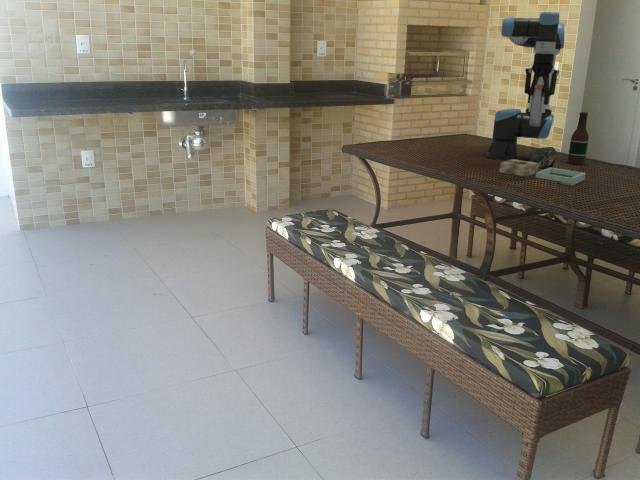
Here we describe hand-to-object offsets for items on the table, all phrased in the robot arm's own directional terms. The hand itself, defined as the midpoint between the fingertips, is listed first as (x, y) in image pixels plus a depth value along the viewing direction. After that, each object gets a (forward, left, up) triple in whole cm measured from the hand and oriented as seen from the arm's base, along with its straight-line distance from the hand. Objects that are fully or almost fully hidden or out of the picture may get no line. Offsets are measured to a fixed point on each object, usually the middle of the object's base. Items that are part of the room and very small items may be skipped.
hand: (536, 111), depth 252 cm
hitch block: (-4, 0, -27) cm, 27 cm away
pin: (0, 0, -6) cm, 6 cm away
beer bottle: (+5, +44, -27) cm, 52 cm away
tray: (+13, +3, -27) cm, 30 cm away
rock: (-2, +19, -27) cm, 33 cm away
